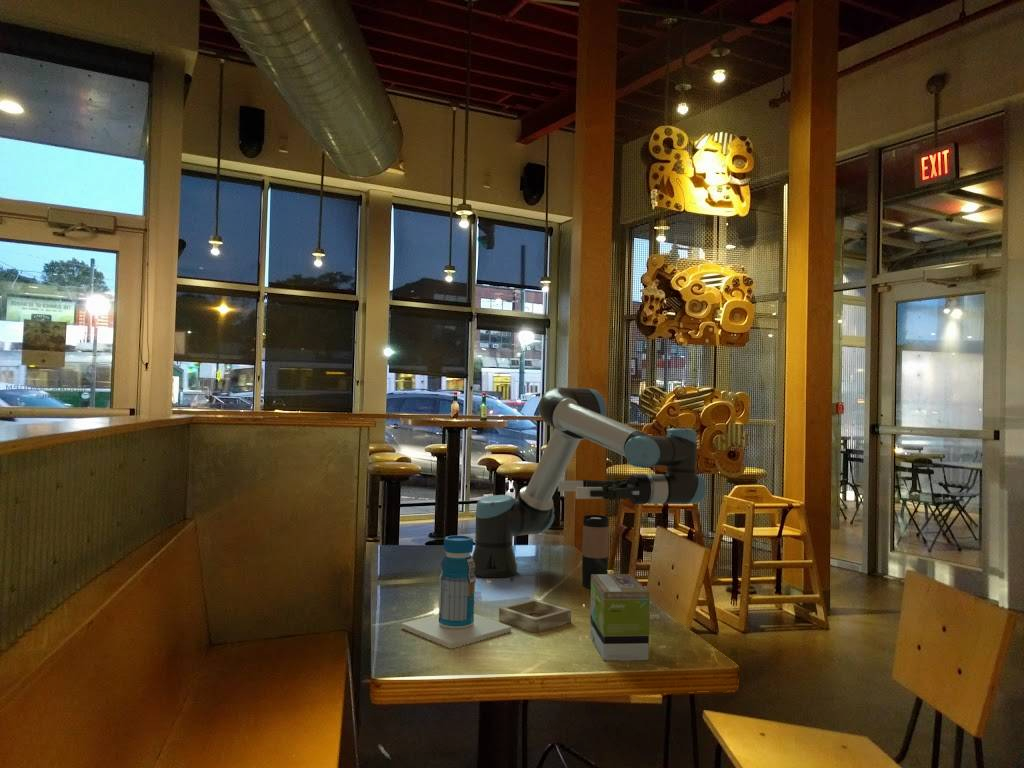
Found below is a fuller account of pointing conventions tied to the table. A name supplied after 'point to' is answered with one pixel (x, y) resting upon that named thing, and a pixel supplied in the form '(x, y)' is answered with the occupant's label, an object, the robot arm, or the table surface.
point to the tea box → (619, 617)
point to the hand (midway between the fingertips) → (567, 489)
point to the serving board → (455, 631)
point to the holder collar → (519, 617)
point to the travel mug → (594, 547)
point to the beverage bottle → (457, 583)
